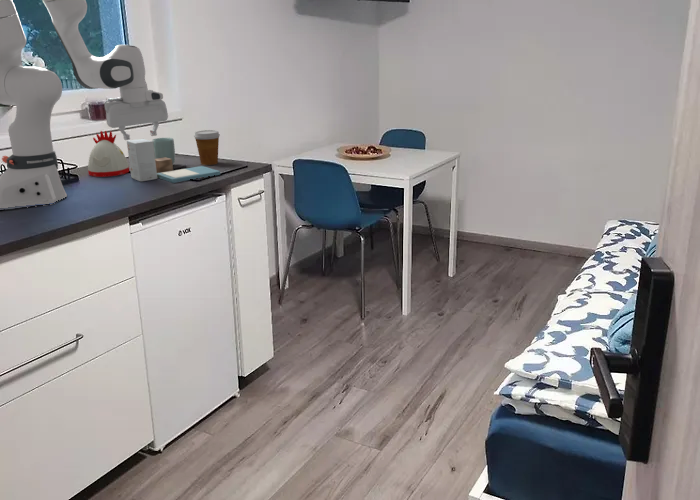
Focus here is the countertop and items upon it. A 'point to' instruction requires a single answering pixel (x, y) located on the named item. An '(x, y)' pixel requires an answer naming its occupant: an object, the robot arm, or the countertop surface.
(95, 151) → the kitchen timer
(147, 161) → the small box
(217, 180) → the countertop surface
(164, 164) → the walnut block
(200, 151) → the disposable coffee cup
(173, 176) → the light blue book
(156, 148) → the cup
